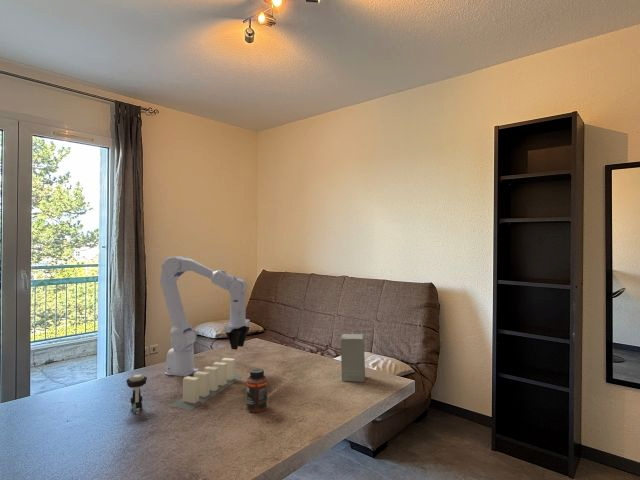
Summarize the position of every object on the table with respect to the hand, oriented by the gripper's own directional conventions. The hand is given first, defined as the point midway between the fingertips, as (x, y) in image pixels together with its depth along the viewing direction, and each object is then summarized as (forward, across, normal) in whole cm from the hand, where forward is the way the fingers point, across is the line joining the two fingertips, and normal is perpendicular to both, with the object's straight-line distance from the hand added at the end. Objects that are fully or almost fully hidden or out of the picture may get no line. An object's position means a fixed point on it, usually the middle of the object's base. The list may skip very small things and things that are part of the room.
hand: (237, 347), depth 136 cm
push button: (+10, -36, +11) cm, 39 cm away
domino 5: (+10, -6, 0) cm, 11 cm away
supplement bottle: (+10, -23, -21) cm, 33 cm away
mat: (+10, -16, 0) cm, 19 cm away
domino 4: (+10, -11, 0) cm, 15 cm away
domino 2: (+10, -21, 0) cm, 23 cm away
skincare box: (+10, +10, -42) cm, 44 cm away
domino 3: (+10, -16, 0) cm, 19 cm away
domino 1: (+10, -26, 0) cm, 28 cm away
